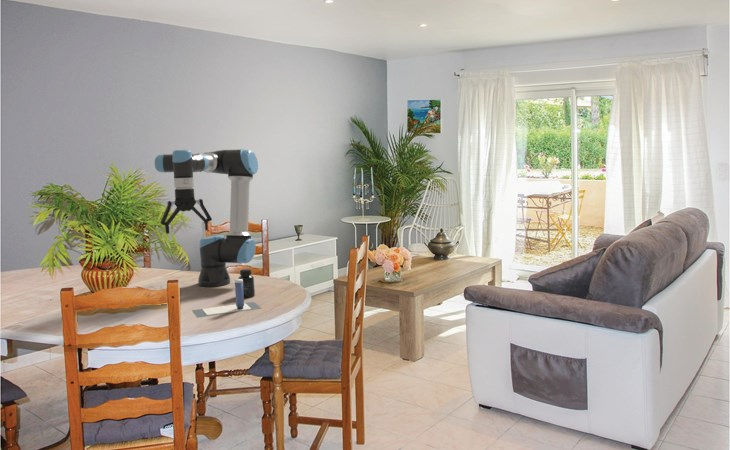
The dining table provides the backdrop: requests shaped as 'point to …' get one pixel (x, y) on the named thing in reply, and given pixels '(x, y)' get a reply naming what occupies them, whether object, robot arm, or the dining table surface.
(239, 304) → the marker
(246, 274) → the supplement bottle
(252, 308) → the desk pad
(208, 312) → the paper
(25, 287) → the dining table surface
